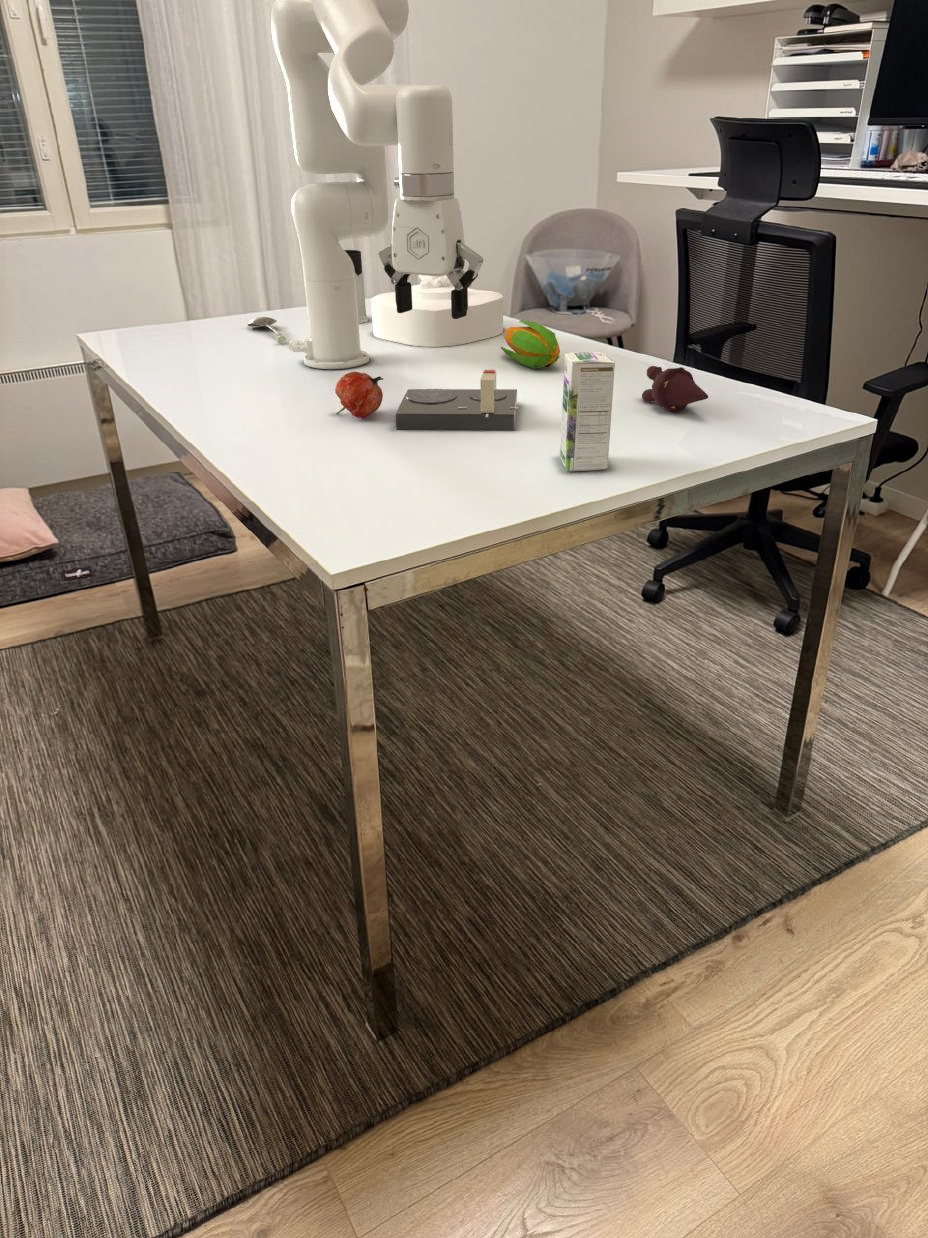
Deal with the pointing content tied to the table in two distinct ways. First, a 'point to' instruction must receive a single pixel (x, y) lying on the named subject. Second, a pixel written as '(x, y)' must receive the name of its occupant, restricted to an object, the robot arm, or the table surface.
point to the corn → (532, 345)
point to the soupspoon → (267, 322)
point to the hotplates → (444, 396)
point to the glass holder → (359, 284)
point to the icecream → (672, 388)
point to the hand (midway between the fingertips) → (431, 314)
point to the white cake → (437, 316)
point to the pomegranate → (359, 394)
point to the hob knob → (488, 391)
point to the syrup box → (586, 411)
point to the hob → (457, 413)
